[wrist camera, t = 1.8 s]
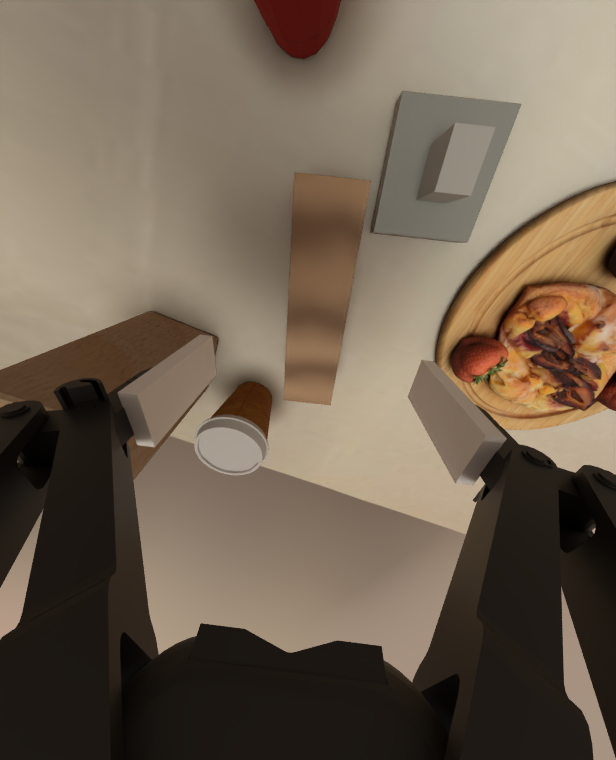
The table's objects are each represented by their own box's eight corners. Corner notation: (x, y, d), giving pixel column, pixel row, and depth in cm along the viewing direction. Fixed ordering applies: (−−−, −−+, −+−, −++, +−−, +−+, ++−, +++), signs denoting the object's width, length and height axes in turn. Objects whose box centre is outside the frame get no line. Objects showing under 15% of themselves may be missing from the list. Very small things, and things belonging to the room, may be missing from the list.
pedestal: (396, 103, 21) (422, 53, 15) (505, 115, 21) (570, 69, 15) (370, 232, 26) (383, 230, 21) (458, 242, 26) (494, 242, 21)
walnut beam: (302, 191, 25) (294, 172, 18) (358, 197, 25) (370, 180, 18) (291, 370, 36) (283, 400, 29) (329, 374, 36) (330, 405, 29)
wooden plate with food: (403, 412, 39) (421, 450, 32) (503, 159, 22) (588, 123, 15) (587, 430, 40) (645, 471, 33) (820, 195, 23) (1042, 176, 16)
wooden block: (150, 309, 32) (-47, 384, 15) (219, 336, 34) (112, 434, 17) (147, 366, 37) (-4, 473, 20) (208, 388, 39) (115, 505, 22)
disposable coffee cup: (261, 427, 42) (241, 486, 32) (215, 399, 40) (178, 454, 30) (292, 395, 38) (281, 451, 28) (244, 362, 36) (211, 410, 25)
